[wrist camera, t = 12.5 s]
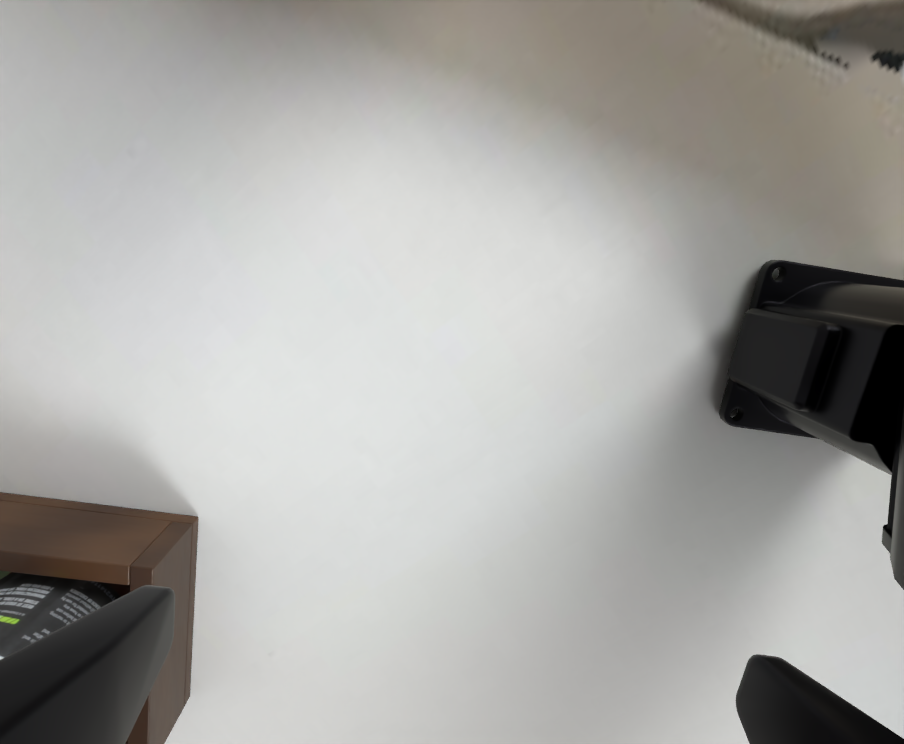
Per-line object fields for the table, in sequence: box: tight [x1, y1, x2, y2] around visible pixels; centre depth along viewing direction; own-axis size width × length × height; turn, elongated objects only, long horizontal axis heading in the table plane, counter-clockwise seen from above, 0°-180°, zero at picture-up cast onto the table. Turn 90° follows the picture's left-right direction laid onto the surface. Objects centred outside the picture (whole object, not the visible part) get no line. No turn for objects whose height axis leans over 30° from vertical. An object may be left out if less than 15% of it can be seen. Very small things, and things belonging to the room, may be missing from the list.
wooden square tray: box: [0, 492, 198, 744], centre depth 20 cm, size 9×9×4 cm
